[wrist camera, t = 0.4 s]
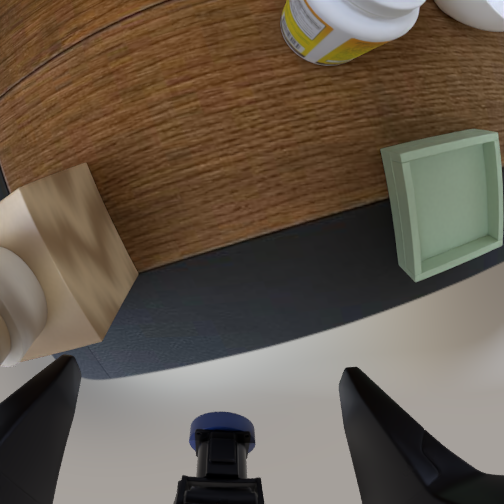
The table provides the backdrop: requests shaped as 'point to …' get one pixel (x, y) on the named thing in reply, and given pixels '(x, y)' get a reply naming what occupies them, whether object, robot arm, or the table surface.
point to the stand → (68, 257)
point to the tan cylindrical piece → (19, 308)
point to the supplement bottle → (344, 27)
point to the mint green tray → (445, 199)
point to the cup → (476, 13)
